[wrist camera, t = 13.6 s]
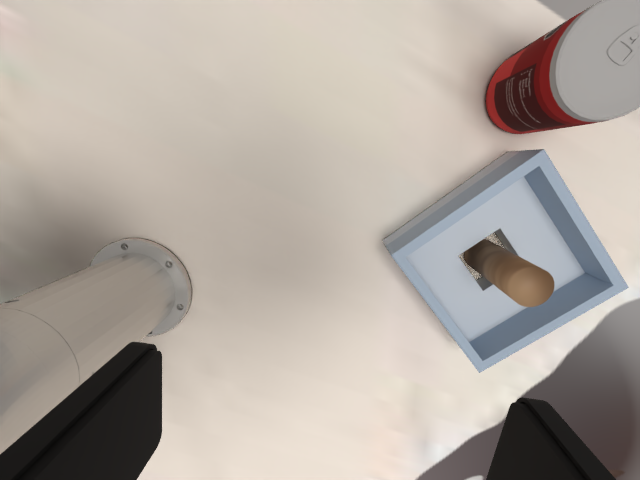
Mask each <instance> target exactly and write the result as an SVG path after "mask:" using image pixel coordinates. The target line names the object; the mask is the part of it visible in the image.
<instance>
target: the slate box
mask: <svg viewBox="0 0 640 480" xmlns="http://www.w3.org/2000/svg"><path fill="white" fill-rule="evenodd" d="M493 232H495V233H496V235H497V236H498V238H499V239H500V241H501V242H502V244H503V245H504V247H505V248H506V250H508V251H510V252H511V253H513V254H515V255H517V256H519V257H521V258H523V259H525V260H527V261H529V262H531V263H532V264H534V265H536V266H538V267H540V268H542V269H544V270H546V271H547V272H549V273H550V274H551V275H552V277H553V279H554V284H555V286H554V291H553V293H552V295H551V297H550V298H549V299H548V300H547V301H546V302H544V303H543V304H541V305H538V306H535V307H524V306H521V305H519V304H518V303H516V302H515V301H514V300H512V299H511V298H510V297H509V296H507V295H506V294H505V293H504V292H502V291H501V290H500V289H498V288H497V287H496V286H495V285H493V284H492V283H491V282H490V281H488V280H487V279H486V278H485V277H481V278H480V279H478V280H475V279H474V278H473V276H472V275H471V273H470V272H469V270H468V269H467V268H466V266H465V265H464V263H463V262H462V261H461V259H460V258H459V255H460V254H462V253H463V252H465V251H466V250H468V249H469V248H471V247H472V246H474V245H475V244H477V243H478V242H480V241H481V240H483V239H484V238H486V237H487V236H489V235H490V234H492V233H493ZM382 241H383V243H384V244H385V246H386V248H387V249H388V251H389V253H390V255H391V256H392V257H393V259H394V260H395V261H396V263H397V264H398V265H399V267H400V268H401V269H402V271H403V272H404V273H405V275H406V276H407V277H408V279H409V280H410V281H411V283H412V284H413V285H414V287H415V288H416V289H417V291H418V292H419V293H420V295H421V296H422V297H423V299H424V300H425V301H426V303H427V304H428V305H429V307H430V308H431V309H432V311H433V312H434V313H435V315H436V316H437V317H438V319H439V320H440V321H441V322H442V324H443V325H444V326H445V328H446V329H447V330H448V332H449V333H450V334H451V336H452V337H453V338H454V340H455V341H456V342H457V344H458V345H459V346H460V348H461V349H462V350H463V352H464V353H465V354H466V356H467V357H468V358H469V360H470V361H471V362H472V364H473V365H474V366H475V368H476V369H477V370H478V372H479V373H480V372H482V371H484V370H485V369H487V368H489V367H491V366H492V365H494V364H496V363H498V362H499V361H501V360H503V359H505V358H506V357H508V356H510V355H512V354H513V353H515V352H517V351H519V350H520V349H522V348H524V347H526V346H527V345H529V344H531V343H533V342H534V341H536V340H538V339H540V338H541V337H543V336H545V335H547V334H548V333H550V332H552V331H554V330H555V329H557V328H559V327H561V326H562V325H564V324H566V323H568V322H569V321H571V320H573V319H574V318H576V317H578V316H580V315H581V314H583V313H585V312H587V311H588V310H590V309H592V308H594V307H595V306H597V305H599V304H601V303H602V302H604V301H606V300H608V299H609V298H611V297H613V296H615V295H616V294H618V293H620V292H622V291H623V290H625V289H627V288H629V287H628V286H627V284H626V282H625V281H624V279H623V277H622V276H621V274H620V273H619V271H618V269H617V268H616V266H615V264H614V263H613V261H612V259H611V258H610V256H609V255H608V253H607V251H606V250H605V248H604V246H603V245H602V243H601V241H600V240H599V238H598V237H597V235H596V233H595V232H594V230H593V228H592V227H591V225H590V223H589V222H588V220H587V219H586V217H585V215H584V214H583V212H582V210H581V209H580V207H579V205H578V204H577V202H576V201H575V199H574V197H573V196H572V194H571V192H570V191H569V189H568V187H567V186H566V184H565V183H564V181H563V179H562V178H561V176H560V174H559V173H558V171H557V169H556V168H555V166H554V165H553V163H552V161H551V160H550V158H549V156H548V155H547V153H546V152H545V150H544V149H539V150H524V151H510V152H506V153H505V154H504V155H502V156H501V157H499V158H498V159H497V160H495V161H494V162H492V163H491V164H489V165H488V166H487V167H485V168H484V169H482V170H481V171H480V172H478V173H477V174H475V175H474V176H473V177H471V178H470V179H468V180H467V181H466V182H464V183H463V184H461V185H460V186H458V187H457V188H456V189H454V190H453V191H451V192H450V193H449V194H447V195H446V196H444V197H443V198H442V199H440V200H439V201H437V202H436V203H435V204H433V205H432V206H430V207H429V208H427V209H426V210H425V211H423V212H422V213H420V214H419V215H418V216H416V217H415V218H413V219H412V220H411V221H409V222H408V223H406V224H405V225H403V226H402V227H401V228H399V229H398V230H396V231H395V232H394V233H392V234H391V235H389V236H388V237H387V238H385V239H384V240H382Z"/></svg>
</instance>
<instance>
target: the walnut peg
mask: <svg viewBox="0 0 640 480" xmlns="http://www.w3.org/2000/svg"><path fill="white" fill-rule="evenodd" d="M464 259H465V261H466V263H467V264H468V265H469V266H471V267H472V268H473V269H474V270H476V271H477V272H478V273H479V274H481V275H482V276H483V277H485V278H486V279H487V280H488V281H490V282H491V283H492V284H493V285H495V286H496V287H497V288H498V289H500V290H501V291H502V292H504V293H505V294H506V295H507V296H509V297H510V298H511V299H512V300H514V301H515V302H516V303H518V304H519V305H521V306H524V307H535V306H538V305H541V304H543V303H544V302H546V301H547V300H548V299H549V298H550V297H551V295H552V293H553V291H554V286H555V284H554V279H553V277H552V275H551V274H550V273H549V272H547V271H546V270H544V269H542V268H540V267H538V266H536V265H534V264H532V263H531V262H529V261H527V260H525V259H523V258H521V257H519V256H517V255H515V254H513V253H511V252H510V251H508V250H506V249H504V248H502V247H500V246H498V245H496V244H494V243H492V242H490V241H488V240H486V239H483V240H481V241H480V242H478V243H477V244H475V245H474V246H472V247H471V248H469V249H468V250H466V251H465V252H464Z"/></svg>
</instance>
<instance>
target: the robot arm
mask: <svg viewBox="0 0 640 480" xmlns="http://www.w3.org/2000/svg"><path fill="white" fill-rule="evenodd" d="M171 262H172V263H171ZM191 293H192V291H191V284H190V280H189V277H188V274H187V272H186V270H185V268H184V267H183V265H182V263H181V262H180V261H179V260H178V259H177V257H176V256H175V255H174V254H172V253H171V252H170V251H169V250H168V249H166V248H164V247H163V246H161V245H160V244H157V243H155V242H152V241H150V240H145V239H140V238H128V239H123V240H119V241H116V242H113V243H111V244H109V245H107V246H105V247H104V248H102V249H101V250H100V251H99V252H98V253H97V254H96V255H95V257H94V258H93V260H92V262H91V264H90V267H88V268H86V269H83V270H81V271H79V272H76V273H74V274H72V275H69V276H67V277H64V278H62V279H60V280H57V281H55V282H52V283H50V284H48V285H45V286H43V287H40V288H38V289H36V290H33V291H31V292H29V293H26V294H24V295H21V296H19V297H17V298H14V299H12V300H9V301H7V302H5V303H2V304H0V480H137V478H138V477H139V475H140V473H141V472H142V470H143V469H144V467H145V466H146V464H147V462H148V461H149V459H150V458H151V456H152V455H153V453H154V451H155V450H156V448H157V446H158V444H159V442H160V439H161V434H162V354H161V352H160V351H157V348H156V346H155V345H154V344H147V343H140V341H141V340H142V339H143V338H144V337H145V336H148V337H149V336H156V335H160V334H163V333H166V332H167V331H169V330H171V329H172V328H174V327H175V326H176V325H177V324H178V323H179V322H180V321H181V320H182V319H183V318H184V316H185V315H186V313H187V311H188V309H189V306H190V302H191ZM486 480H616V479H615V478H614V477H613V476H612V474H611V473H610V472H609V471H608V470H607V469H606V468H605V466H604V465H603V464H602V463H601V462H600V461H599V460H598V459H597V457H596V456H595V455H594V454H593V453H592V452H591V451H590V449H589V448H588V447H587V446H586V445H585V444H584V443H583V442H582V440H581V439H580V438H579V437H578V436H577V435H576V434H575V432H574V431H573V430H572V429H571V428H570V427H569V426H568V424H567V423H566V422H565V421H564V420H563V419H562V418H561V417H560V415H559V414H558V413H557V412H556V411H555V410H554V409H553V408H552V406H551V405H550V404H548V403H547V402H545V401H543V400H536V399H529V398H519V399H518V400H517V401H516V403H512V404H511V406H510V408H509V411H508V414H507V417H506V420H505V423H504V427H503V430H502V433H501V436H500V439H499V442H498V445H497V448H496V451H495V454H494V457H493V460H492V463H491V466H490V469H489V472H488V475H487V479H486Z"/></svg>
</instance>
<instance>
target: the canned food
mask: <svg viewBox="0 0 640 480" xmlns="http://www.w3.org/2000/svg"><path fill="white" fill-rule="evenodd" d="M486 107H487V111H488V114H489V117H490V118H491V120H492V121H493V122H494V123H495V124H496V125H497V126H498V127H499V128H501V129H503V130H505V131H507V132H510V133H515V134H524V133H532V132H539V131H545V130H552V129H559V128H565V127H572V126H579V125H585V124H592V123H597V122H603V121H608V120H611V119H614V118H618V117H621V116H624V115H626V114H628V113H630V112H632V111H634V110H636V109H637V108H639V107H640V0H603V1H600V2H598V3H596V4H595V5H593V6H591V7H589V8H587V9H586V10H584V11H583V12H581V13H579V14H578V15H576V16H574V17H572V18H571V19H569V20H568V21H566V22H564V23H563V24H561V25H560V26H558V27H556V28H555V29H553V30H552V31H550V32H548V33H547V34H545V35H544V36H542V37H540V38H539V39H537V40H536V41H534V42H533V43H531V44H529V45H528V46H526V47H525V48H523V49H521V50H520V51H518V52H517V53H515V54H513V55H512V56H510V57H509V58H508V59H507V60H506V61H504V62H503V63H502V65H501V66H500V67H499V68H498V69H497V71H496V72H495V74H494V76H493V77H492V79H491V81H490V84H489V86H488V89H487V93H486Z"/></svg>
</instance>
